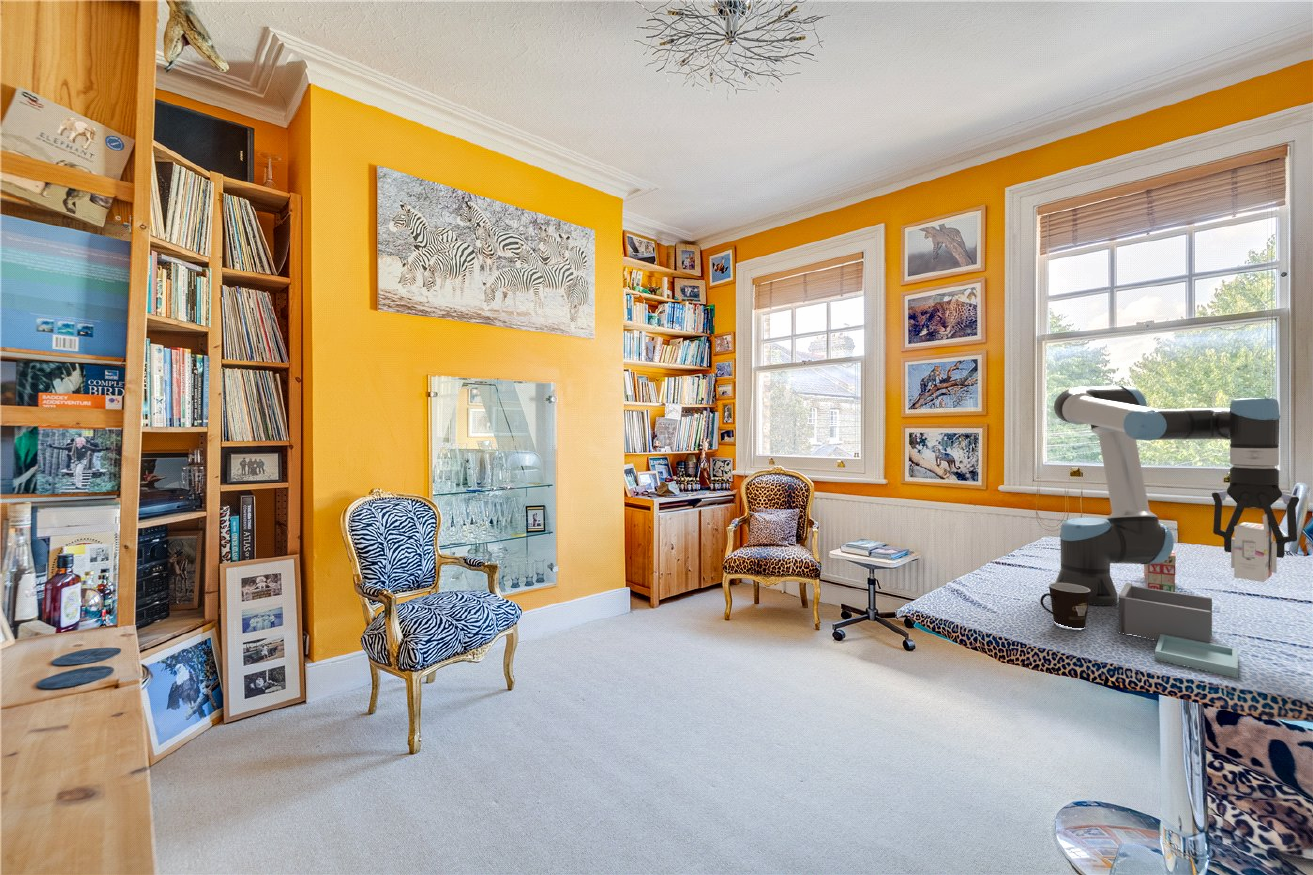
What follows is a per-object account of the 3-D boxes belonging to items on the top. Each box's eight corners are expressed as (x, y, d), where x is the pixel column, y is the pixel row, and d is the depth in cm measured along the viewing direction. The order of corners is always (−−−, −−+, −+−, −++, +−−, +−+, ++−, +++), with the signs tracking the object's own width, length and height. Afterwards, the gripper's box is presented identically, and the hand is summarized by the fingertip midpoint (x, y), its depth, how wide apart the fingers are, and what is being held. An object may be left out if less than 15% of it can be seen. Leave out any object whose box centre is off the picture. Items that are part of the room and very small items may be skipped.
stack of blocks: (1143, 576, 186) (1143, 540, 186) (1168, 579, 183) (1168, 542, 182) (1147, 592, 170) (1147, 552, 169) (1175, 595, 166) (1175, 554, 166)
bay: (1118, 633, 138) (1118, 594, 138) (1126, 618, 148) (1126, 582, 148) (1210, 651, 126) (1210, 609, 126) (1211, 634, 136) (1212, 595, 136)
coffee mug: (1082, 622, 146) (1082, 584, 146) (1096, 633, 138) (1096, 593, 138) (1031, 617, 150) (1030, 580, 149) (1041, 629, 142) (1041, 590, 141)
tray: (1154, 659, 122) (1154, 650, 122) (1160, 642, 132) (1160, 634, 132) (1237, 678, 113) (1237, 668, 113) (1237, 657, 123) (1237, 648, 123)
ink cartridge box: (1241, 571, 130) (1242, 508, 130) (1272, 576, 126) (1274, 511, 126) (1232, 577, 125) (1233, 512, 125) (1264, 582, 121) (1266, 515, 121)
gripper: (1196, 466, 129) (1195, 565, 130) (1319, 469, 116) (1318, 580, 116) (1197, 464, 134) (1196, 559, 135) (1315, 467, 121) (1314, 573, 122)
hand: (1253, 568), depth 126 cm, fingers closed on ink cartridge box, 5 cm apart
